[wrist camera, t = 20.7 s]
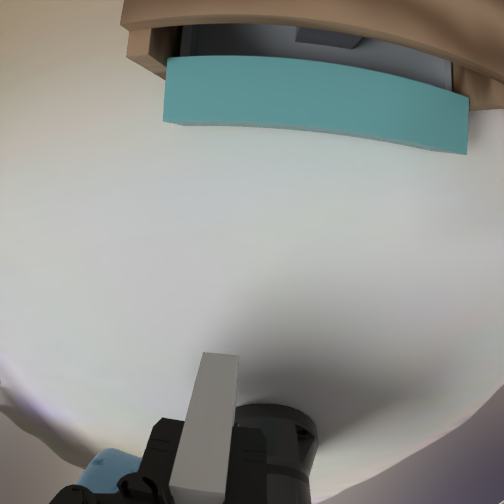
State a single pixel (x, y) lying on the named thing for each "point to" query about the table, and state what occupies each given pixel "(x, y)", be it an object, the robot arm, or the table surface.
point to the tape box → (326, 38)
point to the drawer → (314, 87)
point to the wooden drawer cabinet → (344, 31)
